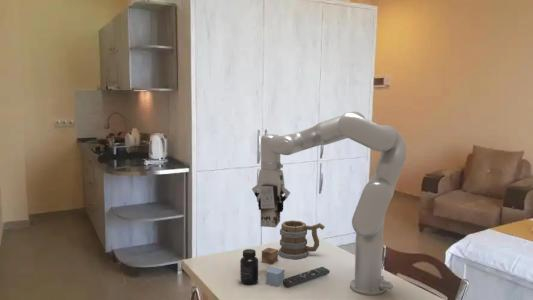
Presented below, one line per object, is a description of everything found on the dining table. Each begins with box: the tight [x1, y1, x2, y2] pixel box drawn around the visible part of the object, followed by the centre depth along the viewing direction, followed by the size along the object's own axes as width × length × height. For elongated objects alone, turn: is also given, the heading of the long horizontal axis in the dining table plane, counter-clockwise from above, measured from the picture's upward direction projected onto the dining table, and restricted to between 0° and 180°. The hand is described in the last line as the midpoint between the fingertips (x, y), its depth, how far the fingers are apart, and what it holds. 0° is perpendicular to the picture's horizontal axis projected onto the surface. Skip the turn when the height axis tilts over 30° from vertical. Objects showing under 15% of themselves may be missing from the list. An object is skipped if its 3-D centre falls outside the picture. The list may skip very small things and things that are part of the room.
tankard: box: [278, 220, 325, 260], centre depth 193 cm, size 20×13×15 cm, turn 73°
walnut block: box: [261, 247, 279, 265], centre depth 186 cm, size 5×5×5 cm
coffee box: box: [260, 185, 281, 228], centre depth 171 cm, size 9×6×16 cm
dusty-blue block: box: [265, 266, 285, 288], centre depth 164 cm, size 5×5×5 cm
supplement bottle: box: [239, 248, 259, 286], centre depth 165 cm, size 7×7×12 cm
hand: (270, 210), depth 172 cm, fingers closed on coffee box, 7 cm apart
